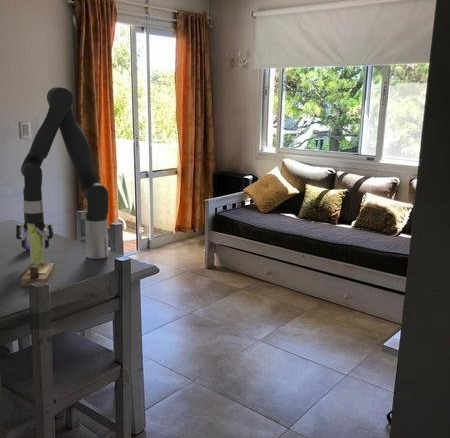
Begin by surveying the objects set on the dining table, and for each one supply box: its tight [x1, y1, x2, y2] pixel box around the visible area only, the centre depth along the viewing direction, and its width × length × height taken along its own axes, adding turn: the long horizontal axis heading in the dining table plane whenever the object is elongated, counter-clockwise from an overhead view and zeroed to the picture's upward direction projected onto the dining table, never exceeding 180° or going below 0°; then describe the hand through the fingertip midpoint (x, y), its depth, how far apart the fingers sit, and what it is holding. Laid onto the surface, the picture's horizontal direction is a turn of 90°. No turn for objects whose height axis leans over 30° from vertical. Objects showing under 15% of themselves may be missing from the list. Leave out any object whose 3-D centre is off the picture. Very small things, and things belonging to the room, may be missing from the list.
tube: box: [27, 223, 44, 264], centre depth 202 cm, size 6×5×20 cm
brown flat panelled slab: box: [20, 262, 56, 286], centre depth 189 cm, size 9×18×7 cm, turn 9°
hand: (35, 248), depth 202 cm, fingers open, 8 cm apart
